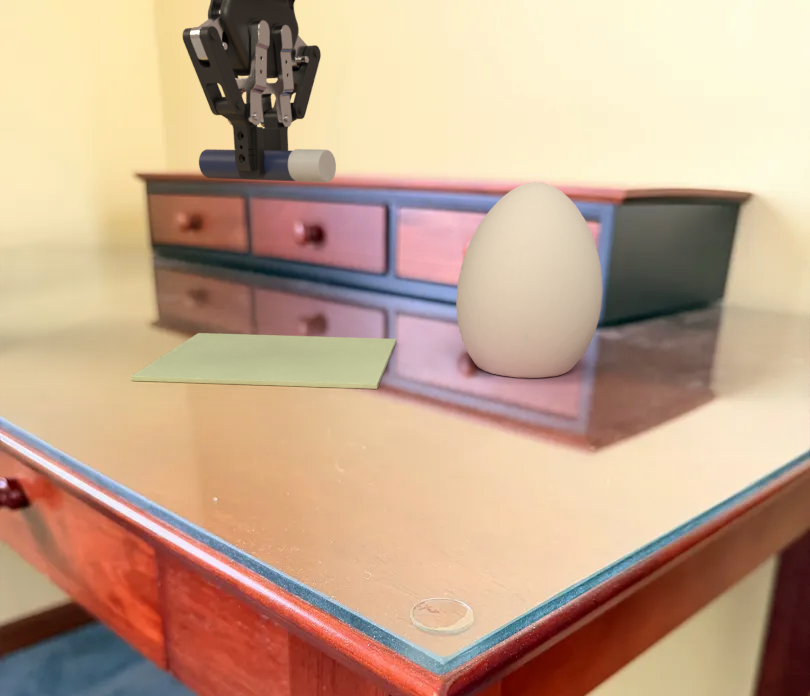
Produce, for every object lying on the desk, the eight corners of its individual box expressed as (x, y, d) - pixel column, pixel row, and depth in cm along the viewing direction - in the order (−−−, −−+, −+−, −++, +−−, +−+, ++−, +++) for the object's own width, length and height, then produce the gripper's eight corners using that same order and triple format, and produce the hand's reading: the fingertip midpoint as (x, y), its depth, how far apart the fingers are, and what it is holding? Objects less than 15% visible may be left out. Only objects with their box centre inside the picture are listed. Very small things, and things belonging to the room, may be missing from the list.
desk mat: (131, 380, 66) (130, 376, 66) (198, 336, 82) (198, 332, 82) (377, 389, 65) (377, 384, 65) (396, 342, 81) (396, 338, 81)
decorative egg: (583, 354, 78) (602, 181, 71) (603, 387, 66) (627, 186, 60) (454, 351, 78) (461, 179, 72) (453, 382, 67) (461, 183, 61)
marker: (202, 181, 69) (194, 152, 67) (220, 173, 70) (213, 144, 69) (321, 186, 63) (316, 154, 61) (338, 177, 64) (333, 146, 63)
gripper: (272, -58, 66) (282, 176, 74) (138, -101, 56) (165, 178, 63) (348, -69, 63) (350, 179, 70) (220, -117, 52) (239, 180, 59)
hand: (263, 177), depth 66 cm, fingers closed on marker, 2 cm apart
